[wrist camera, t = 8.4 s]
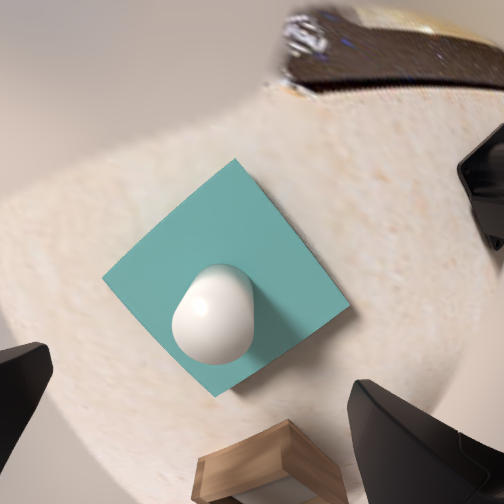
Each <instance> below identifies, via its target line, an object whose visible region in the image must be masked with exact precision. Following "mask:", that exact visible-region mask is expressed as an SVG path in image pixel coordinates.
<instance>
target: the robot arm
mask: <svg viewBox="0 0 504 504" xmlns="http://www.w3.org/2000/svg"><path fill="white" fill-rule="evenodd" d="M464 166H465V168H466V172H464ZM457 172H458V174H459V176H460V178H461V180H462V182H463V184H464V186H465V189H466V191H467V193H468V195H469V197H470V201H471V204H472V206H473V208H474V211H475V213H476V215H477V218H478V220H479V222H480V225H481V227H482V230H483V232H484V233H485V235H486V238H487V240H488V243H489V246H490V248H491V249H493V250H496V251H498V250H499V249H500V248H501V247H502V246H503V245H504V123H502V124H501V125H500V126H499V127H498V128H497V129H495V130H494V131H493V132H492V133H491V134H490V135H489V136H488V137H487V138H486V139H485V140H484V141H483V142H482V143H480V144H479V145H478V146H477V147H476V148H475V149H474V150H473V151H472V152H471V153H469V154H468V155H467V156H466V157H465V158H464V159H463V160H462V161H461V162H459V164H458V166H457ZM495 242H496V244H495ZM52 374H53V365H52V360H51V356H50V352H49V348H48V346H47V345H46V344H43V343H40V342H32V343H29V344H25V345H21V346H17V347H13V348H9V349H6V350H1V351H0V474H1V472H2V470H3V468H4V466H5V464H6V462H7V460H8V459H9V457H10V455H11V453H12V451H13V449H14V447H15V445H16V443H17V442H18V440H19V438H20V436H21V434H22V433H23V431H24V429H25V427H26V426H27V424H28V422H29V420H30V419H31V417H32V415H33V413H34V412H35V410H36V408H37V406H38V404H39V401H40V399H41V397H42V395H43V393H44V391H45V389H46V387H47V385H48V382H49V380H50V378H51V376H52ZM347 412H348V417H349V423H350V429H351V435H352V442H353V448H354V453H355V457H356V460H357V464H358V467H359V471H360V474H361V478H362V481H363V485H364V488H365V492H366V495H367V499H368V502H369V504H504V453H503V452H500V451H498V450H495V449H493V448H490V447H488V446H486V445H484V444H482V443H480V442H478V441H476V440H474V439H472V438H470V437H468V436H466V435H464V434H463V433H461V432H459V433H458V431H457V430H455V429H454V428H452V427H450V426H448V425H446V424H444V423H443V422H441V421H439V420H437V419H436V418H434V417H432V416H430V415H429V414H427V413H425V412H423V411H422V410H420V409H418V408H417V407H415V406H413V405H411V404H410V403H408V402H406V401H405V400H403V399H401V398H399V397H398V396H396V395H394V394H393V393H391V392H389V391H388V390H386V389H384V388H383V387H381V386H379V385H378V384H376V383H374V382H373V381H371V380H369V379H362V380H356V381H355V382H354V384H353V387H352V390H351V393H350V397H349V400H348V404H347Z"/></svg>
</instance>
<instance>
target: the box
mask: <svg viewBox="0 0 504 504" xmlns="http://www.w3.org/2000/svg"><path fill="white" fill-rule="evenodd" d="M191 500H192V501H194V502H196V503H197V504H349V502H348V499H347V495H346V491H345V487H344V484H343V480H342V476H341V473H340V469H339V467H338V466H336V465H335V464H334V463H333V462H332V461H331V460H330V459H329V458H328V457H327V456H326V455H325V454H323V453H322V452H321V451H320V450H319V449H318V448H317V447H316V446H315V445H314V444H313V443H312V442H311V441H310V440H309V439H308V438H307V437H306V436H305V435H304V434H303V433H302V432H301V431H300V430H299V429H298V428H297V427H296V426H295V425H294V424H293V423H292V422H291V421H290V420H289V419H287V420H285V421H283V422H281V423H279V424H277V425H275V426H273V427H271V428H269V429H267V430H265V431H263V432H260V433H258V434H256V435H254V436H252V437H250V438H247V439H245V440H243V441H241V442H238V443H236V444H234V445H231V446H229V447H226V448H224V449H222V450H219V451H217V452H214V453H212V454H209V455H206V456H204V457H201V458H198V464H197V469H196V474H195V480H194V485H193V490H192V496H191Z"/></svg>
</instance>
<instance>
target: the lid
mask: <svg viewBox="0 0 504 504" xmlns="http://www.w3.org/2000/svg"><path fill="white" fill-rule="evenodd" d="M102 279H103V280H104V281H105V283H106V284H107V285H108V286H109V287H110V289H111V290H112V291H113V292H114V293H115V295H116V296H117V297H118V298H119V299H120V300H121V302H122V303H123V304H124V305H125V306H126V307H127V309H128V310H129V311H130V312H131V313H132V314H133V315H134V316H135V318H136V319H137V320H138V321H139V322H140V323H141V324H142V325H143V326H144V328H145V329H146V330H147V331H148V332H149V333H150V334H151V335H152V336H153V337H154V338H155V339H156V340H157V341H158V342H159V343H160V345H161V346H162V347H163V348H164V349H165V350H166V351H167V352H168V353H169V354H170V355H171V356H172V357H173V358H174V359H175V360H176V361H177V362H178V363H179V364H180V365H181V366H182V367H183V368H184V369H185V370H186V371H187V372H188V373H189V374H190V375H192V376H193V377H194V378H195V379H196V380H197V381H198V382H199V383H200V384H201V385H202V386H203V387H204V388H205V389H206V390H208V391H209V392H210V393H211V394H212V395H213V396H214V397H216V396H218V395H220V394H221V393H223V392H225V391H226V390H228V389H230V388H231V387H233V386H234V385H236V384H238V383H239V382H241V381H242V380H244V379H246V378H247V377H249V376H250V375H252V374H253V373H255V372H257V371H258V370H260V369H261V368H263V367H264V366H266V365H267V364H269V363H270V362H272V361H273V360H275V359H276V358H278V357H279V356H281V355H282V354H284V353H285V352H287V351H288V350H289V349H291V348H292V347H294V346H295V345H297V344H298V343H299V342H301V341H302V340H304V339H305V338H306V337H308V336H309V335H311V334H312V333H313V332H315V331H316V330H318V329H319V328H320V327H322V326H323V325H324V324H326V323H327V322H328V321H330V320H331V319H332V318H334V317H335V316H336V315H338V314H339V313H340V312H342V311H343V310H344V309H346V308H347V307H348V306H349V305H350V304H349V303H348V301H347V300H346V299H345V297H344V296H343V295H342V293H341V292H340V291H339V289H338V288H337V287H336V285H335V284H334V282H333V281H332V280H331V278H330V277H329V276H328V274H327V273H326V272H325V271H324V269H323V268H322V267H321V265H320V264H319V263H318V261H317V260H316V259H315V257H314V256H313V255H312V253H311V252H310V251H309V250H308V248H307V247H306V246H305V244H304V243H303V242H302V240H301V239H300V238H299V237H298V235H297V234H296V233H295V231H294V230H293V229H292V228H291V226H290V225H289V224H288V223H287V221H286V220H285V219H284V217H283V216H282V215H281V214H280V212H279V211H278V210H277V209H276V207H275V206H274V205H273V204H272V202H271V201H270V200H269V199H268V197H267V196H266V195H265V194H264V193H263V191H262V190H261V189H260V188H259V186H258V185H257V184H256V183H255V181H254V180H253V179H252V178H251V177H250V175H249V174H248V173H247V172H246V171H245V169H244V168H243V167H242V166H241V164H240V163H239V162H238V161H237V160H236V158H235V159H233V160H232V161H231V162H230V163H229V164H227V165H226V166H225V167H224V168H222V169H221V170H220V171H219V172H218V173H216V174H215V175H214V176H213V177H211V178H210V179H209V180H208V181H207V182H206V183H204V184H203V185H202V186H201V187H200V188H198V189H197V190H196V191H195V192H194V193H193V194H191V195H190V196H189V197H188V198H187V199H186V200H185V201H183V202H182V203H181V204H180V205H179V206H178V207H177V208H175V209H174V210H173V211H172V212H171V213H170V214H169V215H168V216H166V217H165V218H164V219H163V220H162V221H161V222H160V223H159V224H158V225H156V226H155V227H154V228H153V229H152V230H151V231H150V232H149V233H148V234H147V235H146V236H145V237H143V238H142V239H141V240H140V241H139V242H138V243H137V244H136V245H135V246H134V247H133V248H132V249H131V250H130V251H129V252H128V253H127V254H126V255H125V256H123V257H122V258H121V259H120V260H119V261H118V262H117V263H116V264H115V265H114V266H113V267H112V268H111V269H110V270H109V271H108V272H107V273H106V274H105V275H104V276H103V277H102Z"/></svg>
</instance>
